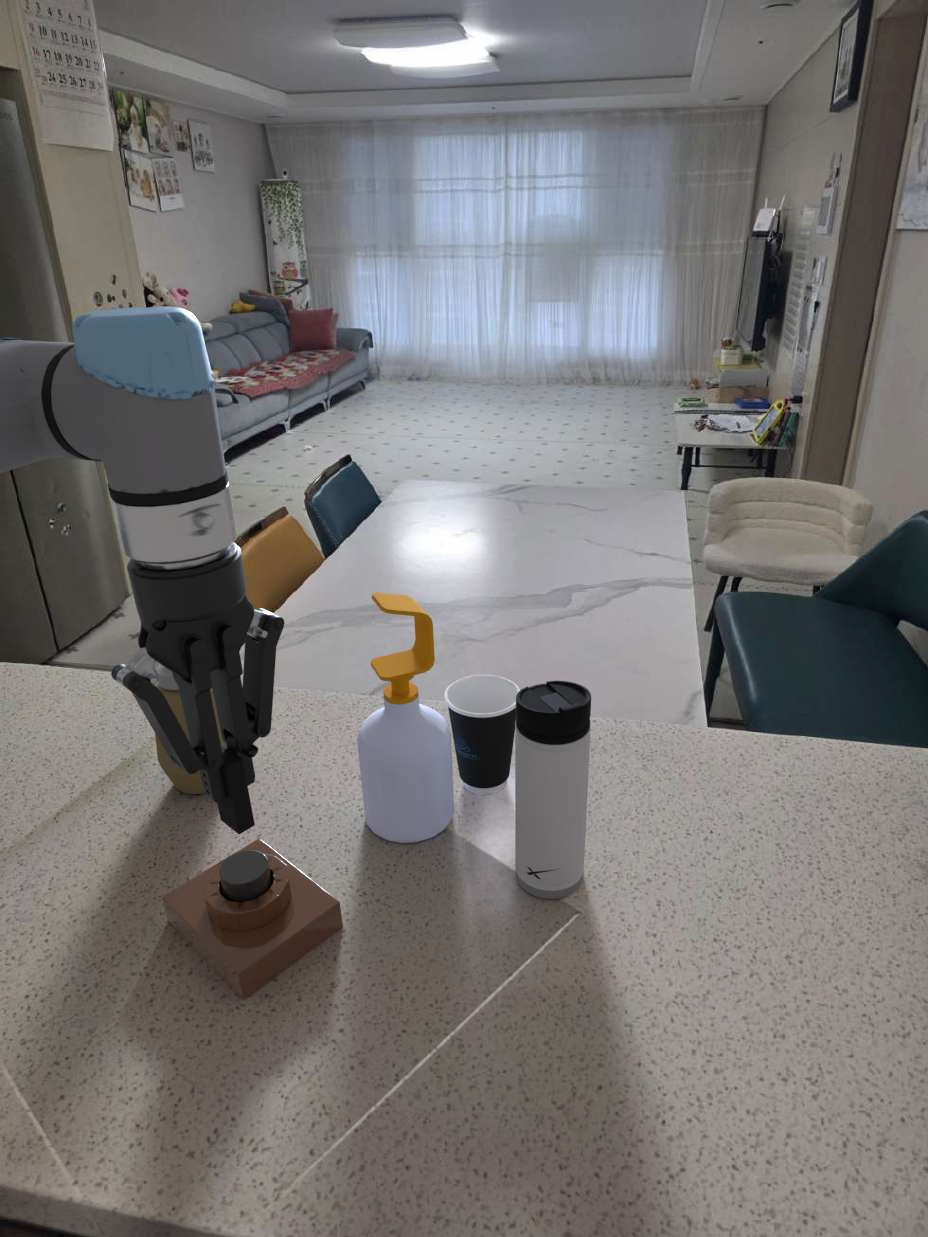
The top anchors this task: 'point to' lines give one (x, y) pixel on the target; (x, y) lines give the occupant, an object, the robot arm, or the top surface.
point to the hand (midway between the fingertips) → (237, 822)
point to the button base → (253, 922)
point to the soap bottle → (406, 742)
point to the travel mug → (551, 787)
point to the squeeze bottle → (172, 695)
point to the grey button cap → (245, 876)
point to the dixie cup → (483, 730)
